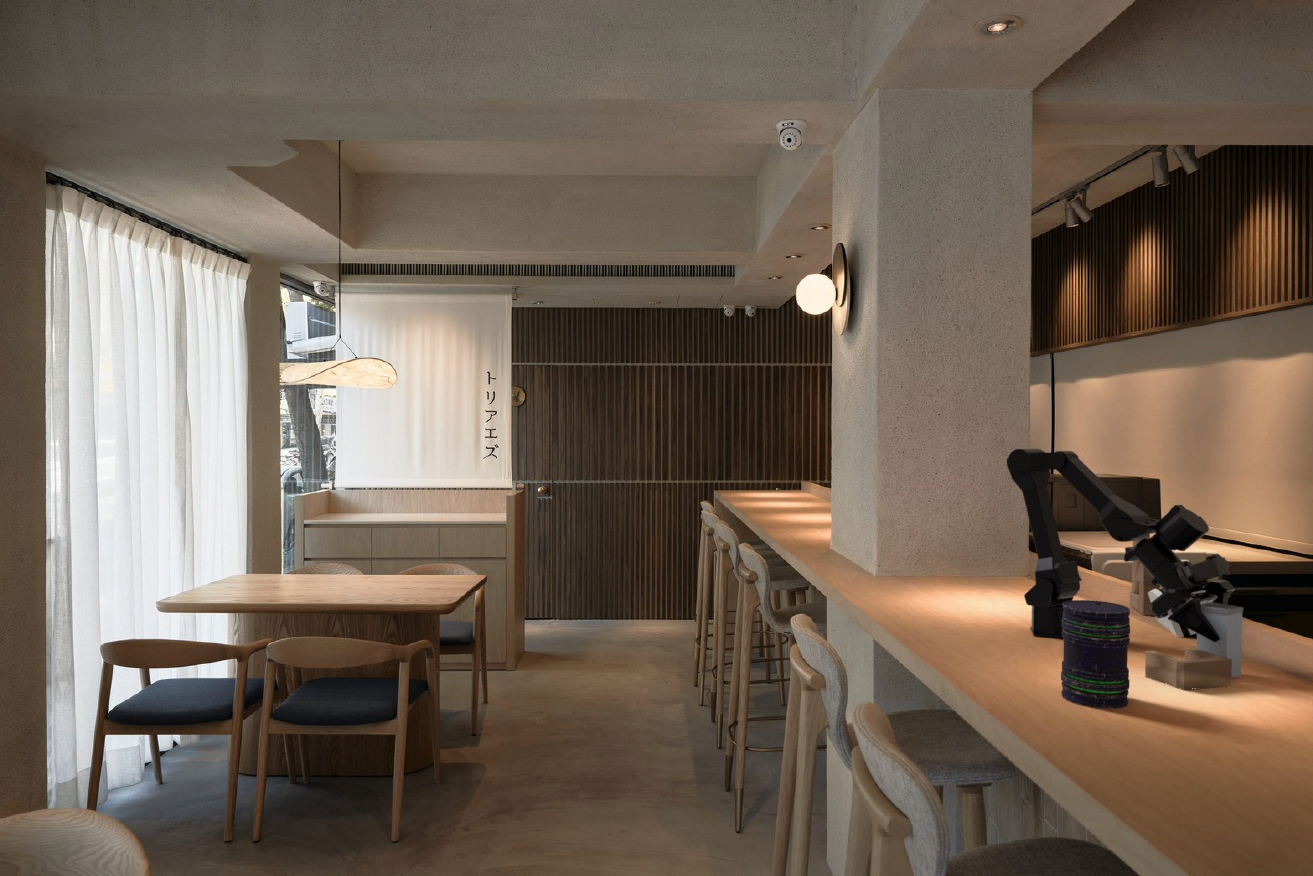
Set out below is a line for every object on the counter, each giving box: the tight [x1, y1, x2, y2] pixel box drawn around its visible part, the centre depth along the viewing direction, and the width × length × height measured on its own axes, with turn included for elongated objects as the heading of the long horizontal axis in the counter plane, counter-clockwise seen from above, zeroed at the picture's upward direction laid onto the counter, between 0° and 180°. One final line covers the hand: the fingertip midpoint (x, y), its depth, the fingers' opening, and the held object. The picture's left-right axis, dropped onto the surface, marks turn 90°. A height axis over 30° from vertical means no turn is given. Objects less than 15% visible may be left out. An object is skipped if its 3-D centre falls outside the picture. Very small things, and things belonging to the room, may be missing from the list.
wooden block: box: [1129, 534, 1161, 617], centre depth 208 cm, size 4×11×18 cm, turn 167°
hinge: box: [1148, 586, 1197, 638], centre depth 191 cm, size 17×5×10 cm, turn 163°
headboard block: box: [1144, 647, 1233, 691], centre depth 152 cm, size 8×10×4 cm
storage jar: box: [1060, 599, 1131, 710], centre depth 142 cm, size 10×10×15 cm
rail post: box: [1196, 602, 1244, 679], centre depth 156 cm, size 5×5×12 cm
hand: (1227, 638), depth 155 cm, fingers open, 6 cm apart
